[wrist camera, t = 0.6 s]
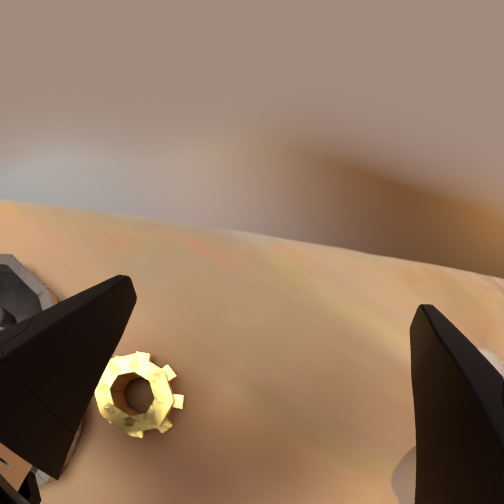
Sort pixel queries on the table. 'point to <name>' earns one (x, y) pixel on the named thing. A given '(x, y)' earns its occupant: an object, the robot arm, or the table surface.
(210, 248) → the table surface
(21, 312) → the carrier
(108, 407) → the planet gear
